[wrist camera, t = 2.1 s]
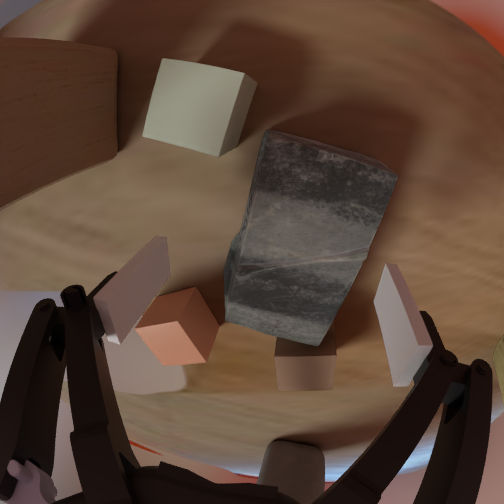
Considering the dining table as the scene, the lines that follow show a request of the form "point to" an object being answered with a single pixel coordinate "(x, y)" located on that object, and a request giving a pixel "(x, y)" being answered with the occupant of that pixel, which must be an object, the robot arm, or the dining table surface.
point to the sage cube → (199, 106)
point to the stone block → (303, 236)
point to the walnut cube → (306, 364)
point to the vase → (294, 470)
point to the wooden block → (54, 112)
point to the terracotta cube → (179, 328)
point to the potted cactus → (500, 364)
